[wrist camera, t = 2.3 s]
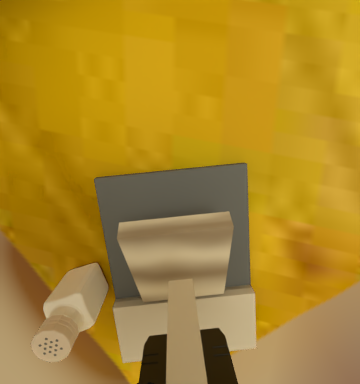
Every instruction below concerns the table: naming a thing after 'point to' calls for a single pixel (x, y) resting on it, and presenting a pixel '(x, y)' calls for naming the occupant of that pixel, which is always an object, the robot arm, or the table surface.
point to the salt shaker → (70, 312)
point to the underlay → (174, 207)
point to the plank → (178, 252)
